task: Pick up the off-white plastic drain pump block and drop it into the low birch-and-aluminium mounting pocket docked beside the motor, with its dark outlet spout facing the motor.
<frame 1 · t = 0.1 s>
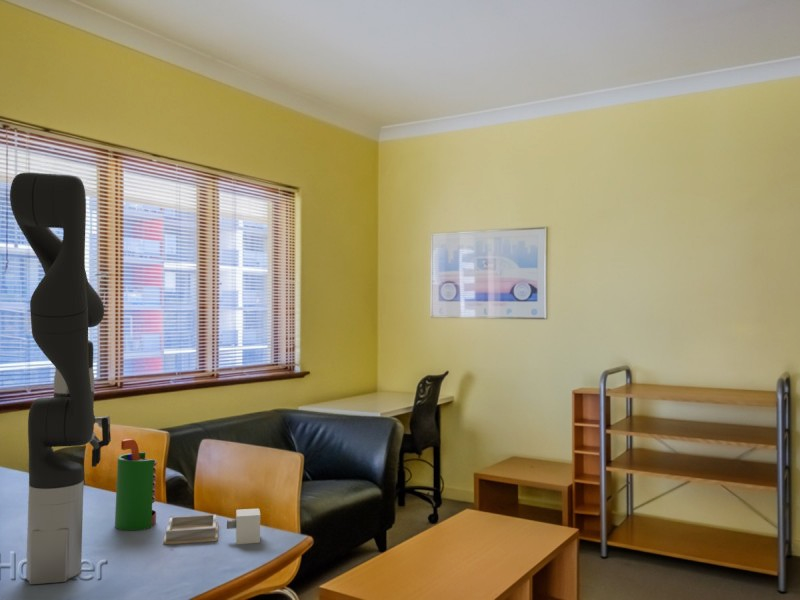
hand: (72, 466, 137), 17 cm above the table, tool pointing down, fingers open, 8 cm apart
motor: (135, 525, 154), on the table
drain pump: (247, 539, 144), on the table
mount pocket: (191, 534, 147), on the table
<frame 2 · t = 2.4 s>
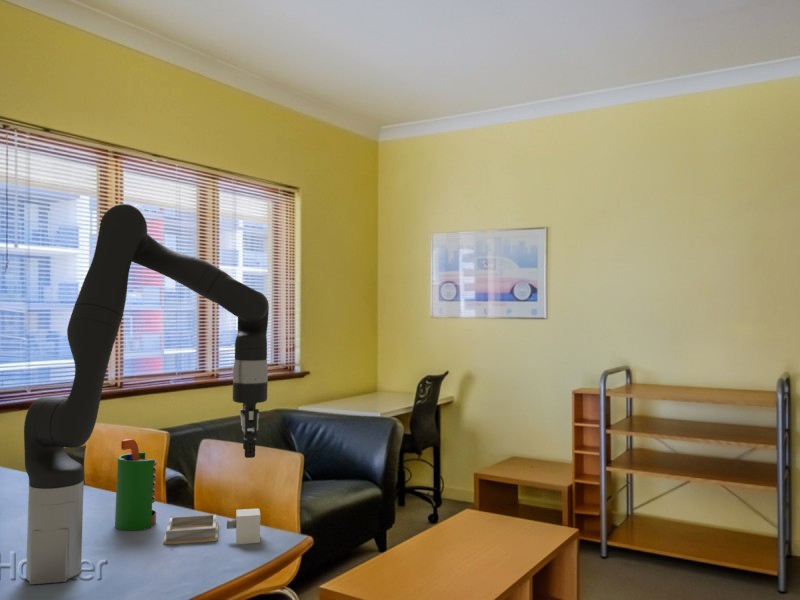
hand: (248, 453, 145), 19 cm above the table, tool pointing down, fingers open, 8 cm apart
nothing on the table moved.
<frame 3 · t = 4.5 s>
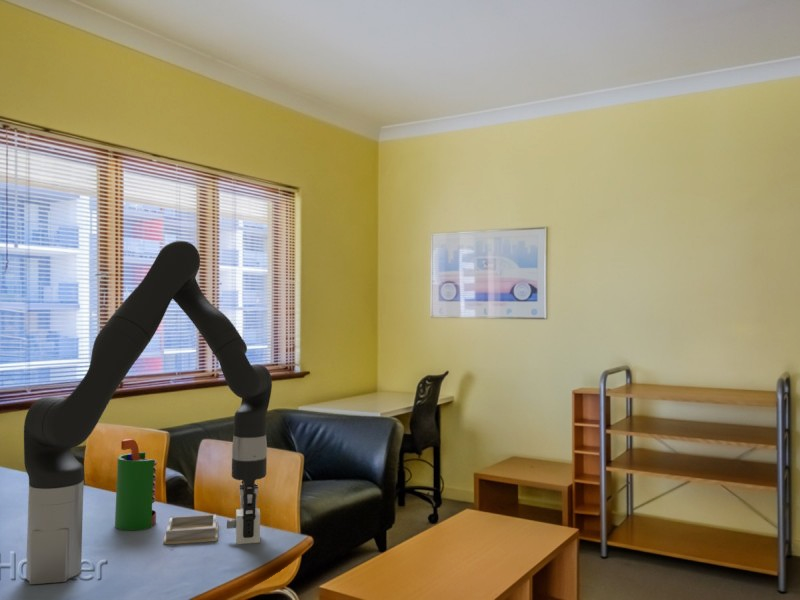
hand: (247, 532, 145), 1 cm above the table, tool pointing down, fingers closed on drain pump, 5 cm apart
drain pump: (247, 539, 144), on the table, touching gripper
everything else where it was.
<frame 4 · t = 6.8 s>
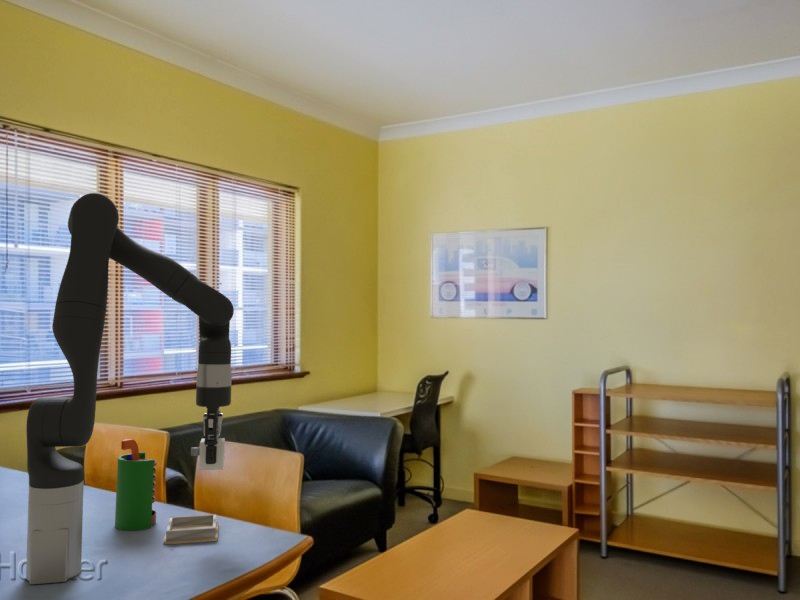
hand: (211, 460, 145), 17 cm above the table, tool pointing down, fingers closed on drain pump, 5 cm apart
drain pump: (211, 467, 145), point 15 cm above the table, touching gripper
everything else where it was.
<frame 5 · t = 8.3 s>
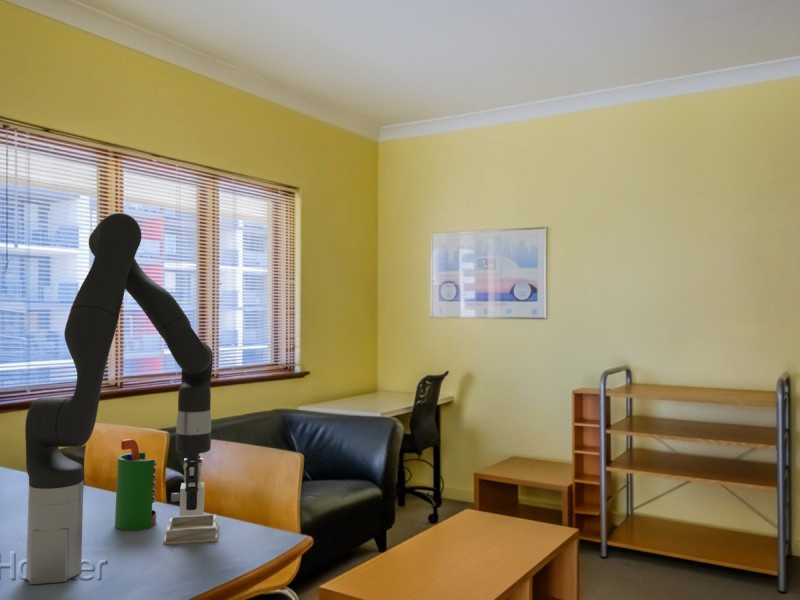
hand: (192, 505, 148), 6 cm above the table, tool pointing down, fingers closed on drain pump, 5 cm apart
drain pump: (191, 512, 147), point 5 cm above the table, touching gripper
everything else where it was.
when the fingers open (4 cm above the table, at t = 9.2 s): drain pump drops 2 cm, resting on mount pocket.
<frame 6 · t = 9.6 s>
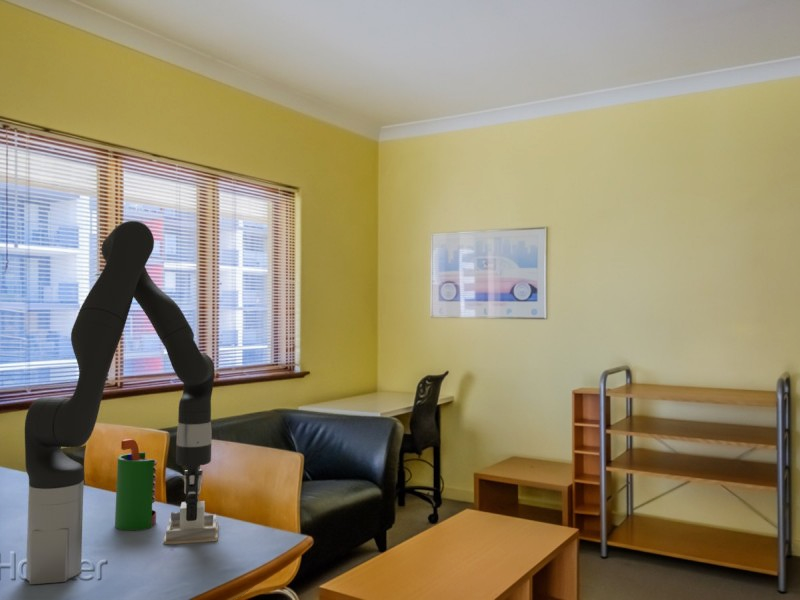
hand: (192, 514, 147), 4 cm above the table, tool pointing down, fingers open, 8 cm apart
drain pump: (192, 531, 147), point 1 cm above the table, touching mount pocket
everything else where it was.
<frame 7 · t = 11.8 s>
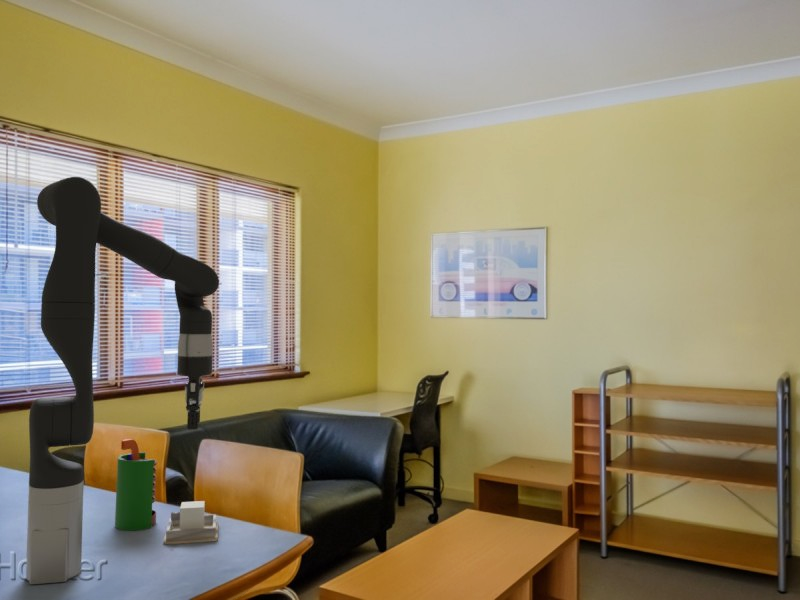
hand: (193, 426, 148), 24 cm above the table, tool pointing down, fingers open, 8 cm apart
nothing on the table moved.
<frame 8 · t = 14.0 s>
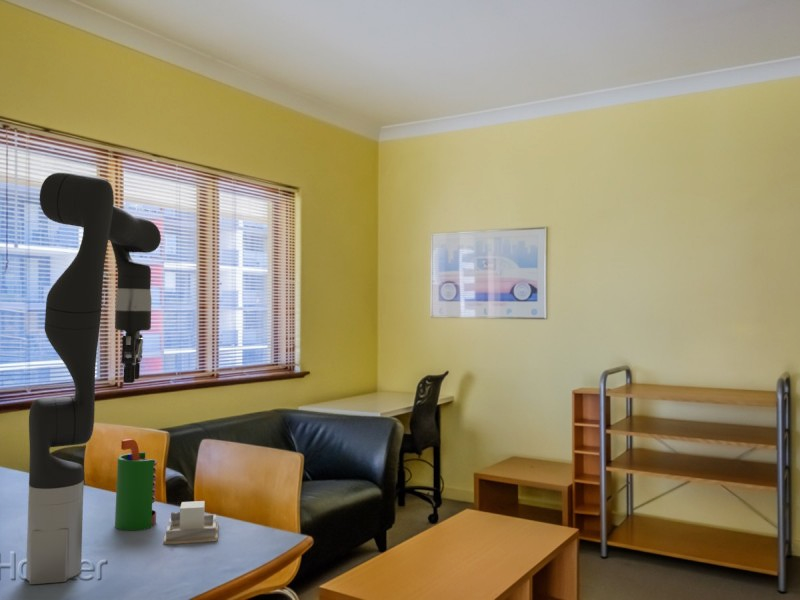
hand: (131, 380, 148), 34 cm above the table, tool pointing down, fingers open, 8 cm apart
nothing on the table moved.
at the end: drain pump 0.0 cm off-centre on the mount pocket, point 0.6 cm above the mount pocket's base; drain pump tilted 0°; drain pump 16.4 cm from the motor (horizontally) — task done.
